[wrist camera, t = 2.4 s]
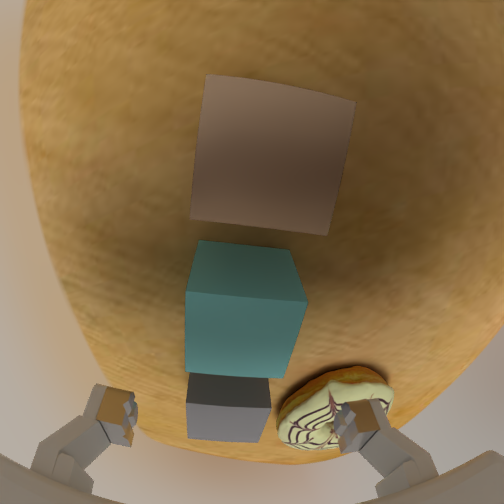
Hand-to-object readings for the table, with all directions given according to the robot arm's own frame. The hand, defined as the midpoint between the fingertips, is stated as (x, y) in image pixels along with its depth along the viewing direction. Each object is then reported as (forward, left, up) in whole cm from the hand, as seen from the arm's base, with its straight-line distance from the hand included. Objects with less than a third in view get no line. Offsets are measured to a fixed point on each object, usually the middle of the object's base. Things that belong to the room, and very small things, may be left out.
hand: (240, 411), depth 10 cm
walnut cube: (-9, 0, -9) cm, 12 cm away
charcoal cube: (+7, 0, -9) cm, 11 cm away
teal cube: (-1, 0, -9) cm, 9 cm away
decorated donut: (+11, +10, -9) cm, 18 cm away
